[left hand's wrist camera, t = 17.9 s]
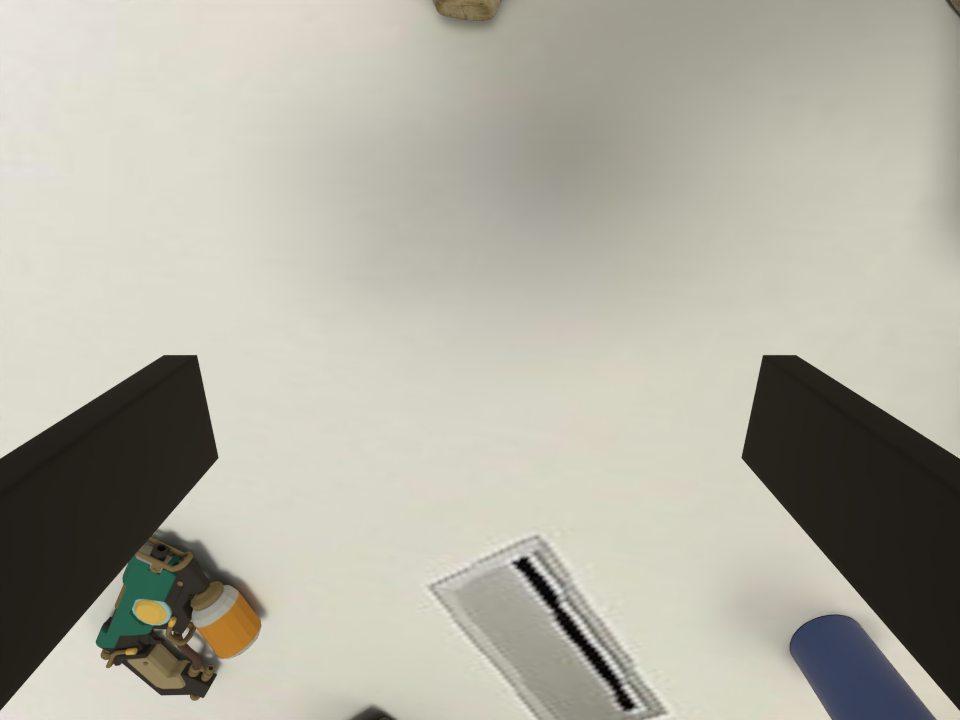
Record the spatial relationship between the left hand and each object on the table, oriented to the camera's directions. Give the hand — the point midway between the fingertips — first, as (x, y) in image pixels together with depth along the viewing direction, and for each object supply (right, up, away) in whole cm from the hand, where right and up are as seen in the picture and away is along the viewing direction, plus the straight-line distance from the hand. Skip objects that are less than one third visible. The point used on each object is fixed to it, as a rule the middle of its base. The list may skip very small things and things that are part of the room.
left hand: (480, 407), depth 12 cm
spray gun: (-29, -23, +38) cm, 52 cm away
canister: (+34, -27, +39) cm, 58 cm away
